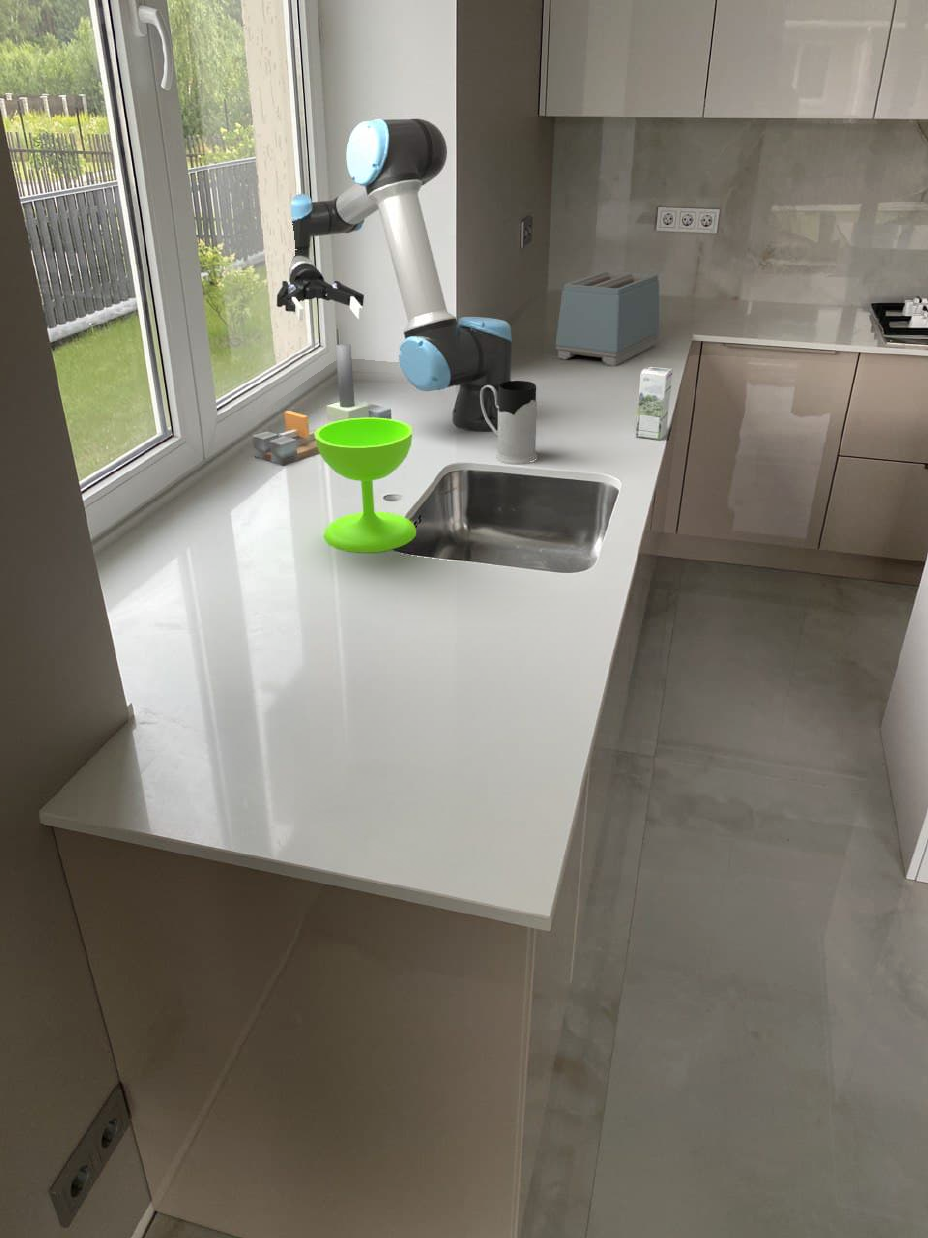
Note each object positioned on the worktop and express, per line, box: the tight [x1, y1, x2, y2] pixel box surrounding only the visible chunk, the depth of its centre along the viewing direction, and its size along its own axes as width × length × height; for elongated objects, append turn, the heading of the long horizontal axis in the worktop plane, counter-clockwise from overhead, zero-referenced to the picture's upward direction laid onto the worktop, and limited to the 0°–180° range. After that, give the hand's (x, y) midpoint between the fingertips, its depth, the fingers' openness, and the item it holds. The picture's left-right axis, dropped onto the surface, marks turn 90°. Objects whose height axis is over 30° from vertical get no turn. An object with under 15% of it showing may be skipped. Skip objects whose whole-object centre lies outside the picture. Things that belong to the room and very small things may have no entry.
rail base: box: [252, 401, 392, 467], centre depth 206 cm, size 9×32×4 cm, turn 140°
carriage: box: [325, 343, 369, 422], centre depth 206 cm, size 7×6×16 cm
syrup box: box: [635, 366, 673, 441], centre depth 205 cm, size 6×6×14 cm
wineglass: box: [314, 418, 417, 554], centre depth 159 cm, size 16×16×18 cm
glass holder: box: [480, 380, 538, 465], centre depth 195 cm, size 9×14×15 cm, turn 47°
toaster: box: [555, 269, 660, 367], centre depth 274 cm, size 19×35×20 cm, turn 148°
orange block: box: [278, 410, 310, 438], centre depth 198 cm, size 6×5×4 cm
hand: (331, 314), depth 209 cm, fingers open, 13 cm apart
